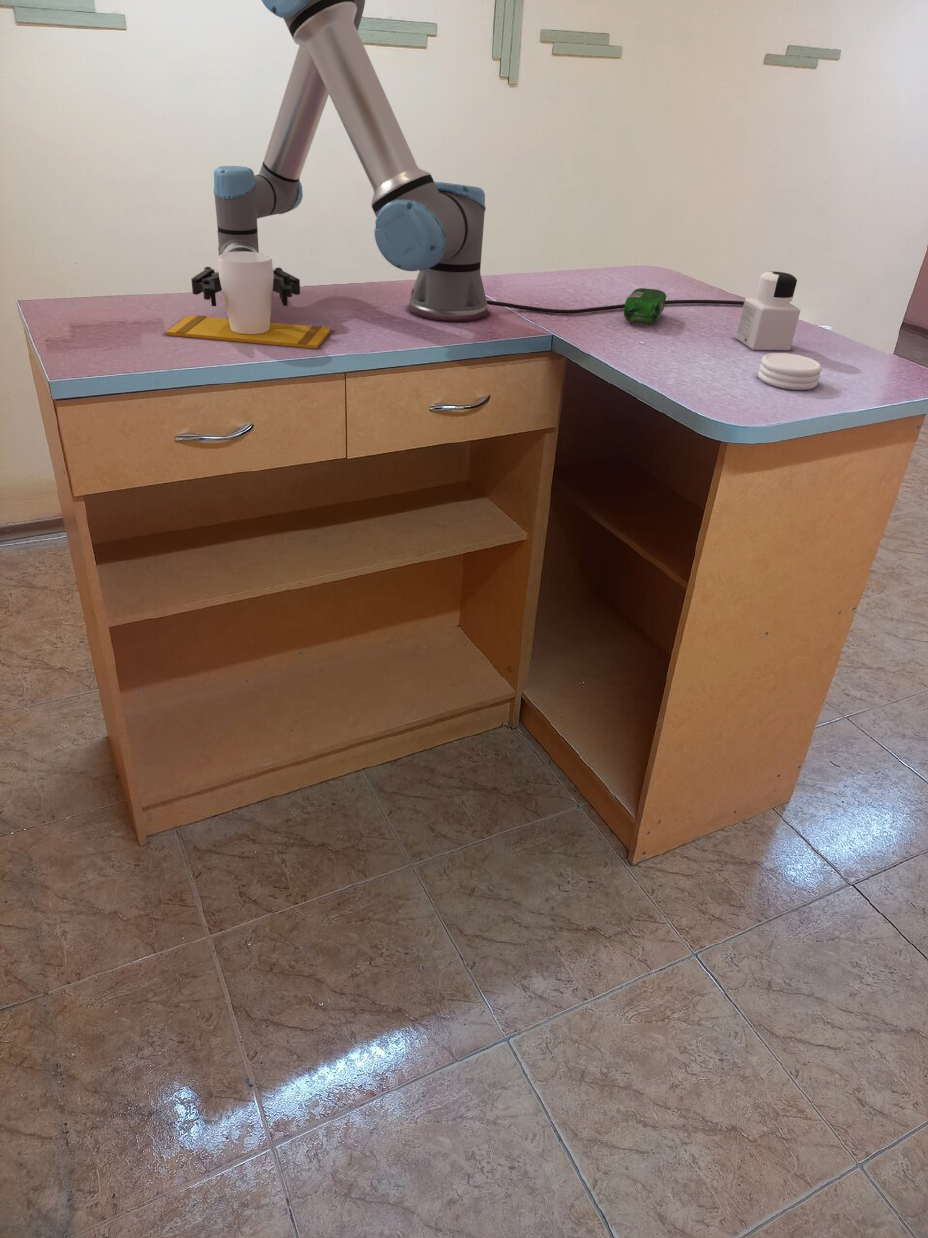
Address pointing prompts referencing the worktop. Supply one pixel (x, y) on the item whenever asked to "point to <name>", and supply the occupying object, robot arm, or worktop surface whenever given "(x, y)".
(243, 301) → the cup
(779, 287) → the container
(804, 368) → the coaster
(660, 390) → the worktop surface
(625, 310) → the snack package
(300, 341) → the towel
